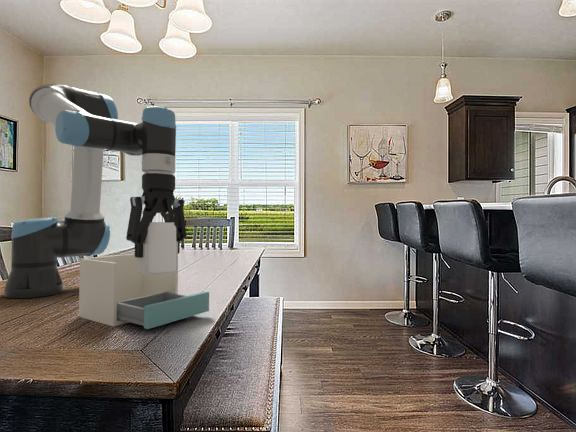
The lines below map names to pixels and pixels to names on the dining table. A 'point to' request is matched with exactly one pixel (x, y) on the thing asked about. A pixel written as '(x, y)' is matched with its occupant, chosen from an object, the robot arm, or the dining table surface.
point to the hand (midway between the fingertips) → (158, 269)
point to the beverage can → (161, 248)
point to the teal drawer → (162, 308)
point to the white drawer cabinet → (116, 286)
